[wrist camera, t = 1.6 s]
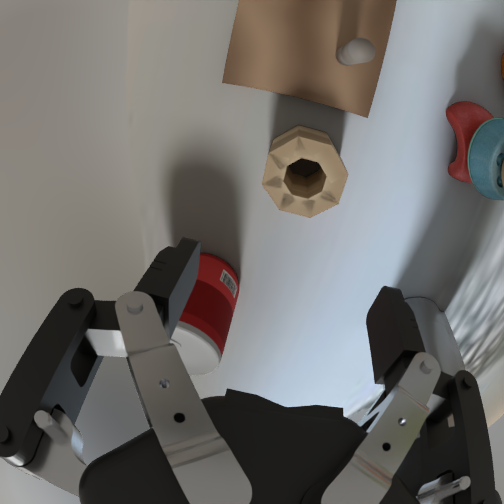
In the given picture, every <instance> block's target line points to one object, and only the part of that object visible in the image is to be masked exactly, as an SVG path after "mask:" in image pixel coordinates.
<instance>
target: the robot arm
mask: <svg viewBox="0 0 504 504" xmlns="http://www.w3.org/2000/svg"><path fill="white" fill-rule="evenodd" d="M200 248H201V242H200V241H196V240H192V239H188V238H182V240H181V241H180V243H179V244H178V246H177V247H176V248H174V247H170V246H168V247H166V248H165V249H163V250H162V251H160V252H159V253H158V255H157V256H156V258H155V259H154V261H153V262H152V263H151V265H150V267H149V268H148V269H147V271H146V272H145V274H144V275H143V277H142V278H141V280H140V282H139V283H138V285H137V286H136V288H135V289H134V291H132V292H128V293H125V294H123V295H122V296H120V297H119V298H118V299H117V301H99V300H94V297H93V295H92V293H91V292H89V291H88V290H86V289H83V288H74V289H71V290H68V291H66V292H65V293H64V294H63V295H62V296H61V297H60V298H59V300H58V301H57V303H56V304H55V306H54V307H53V309H52V310H51V311H50V313H49V314H48V316H47V317H46V319H45V320H44V322H43V323H42V325H41V326H40V328H39V330H38V331H37V333H36V334H35V336H34V337H33V339H32V341H31V342H30V344H29V345H28V347H27V349H26V351H25V352H24V354H23V355H22V357H21V359H20V361H19V362H18V364H17V366H16V368H15V369H14V371H13V373H12V374H11V376H10V378H9V380H8V382H7V384H6V386H5V388H4V389H3V391H2V393H1V395H0V457H1V458H3V459H4V460H5V461H7V462H8V463H9V464H11V465H12V466H14V467H16V468H18V469H19V470H21V471H23V472H25V473H26V474H29V475H32V476H34V477H36V478H38V479H41V480H46V481H48V482H50V483H52V484H54V485H56V486H58V487H60V488H61V489H64V490H66V491H68V492H70V493H72V494H74V495H76V496H78V497H79V498H80V502H81V504H502V501H501V498H500V495H499V493H498V492H497V491H496V490H495V481H494V470H493V461H492V454H491V446H490V440H489V434H488V429H487V423H486V418H485V413H484V409H483V404H482V400H481V396H480V392H479V388H478V384H477V381H476V379H475V378H474V376H473V375H472V374H471V373H470V372H468V371H466V370H465V365H464V362H463V359H462V356H461V354H460V351H459V348H458V345H457V342H456V340H455V337H454V334H453V332H452V329H451V327H450V324H449V322H448V319H447V317H446V314H445V312H441V311H440V310H439V309H438V307H437V305H436V304H435V303H434V302H433V301H431V300H429V299H426V298H409V299H405V300H404V298H403V295H402V292H401V290H400V289H396V288H392V287H388V286H383V287H382V289H381V290H380V292H379V294H378V296H377V297H376V299H375V301H374V302H373V304H372V306H371V308H370V309H369V311H368V314H367V318H366V325H367V331H368V337H369V344H370V350H371V357H372V365H373V372H374V380H375V384H383V389H384V390H383V391H382V392H381V394H380V395H379V396H378V398H377V399H376V401H375V402H374V403H373V405H372V406H371V408H370V409H369V410H368V412H367V413H366V414H365V416H364V417H363V418H362V419H361V421H360V422H359V423H358V424H357V423H355V422H354V421H352V420H350V419H348V418H346V417H343V408H338V407H329V406H321V405H311V406H300V407H284V406H282V405H279V404H277V403H274V402H272V401H270V400H267V399H265V398H263V397H260V396H258V395H255V394H250V393H245V392H241V391H236V390H232V389H227V391H226V394H225V396H214V397H208V398H203V399H200V397H199V395H198V393H197V391H196V389H195V387H194V385H193V383H192V381H191V378H190V376H189V374H188V372H187V370H186V368H185V365H184V363H183V361H182V359H181V357H180V354H179V352H178V350H177V348H176V346H175V345H174V344H173V343H172V344H171V343H170V342H169V341H170V340H171V337H172V335H173V333H174V330H175V328H176V326H177V323H178V321H179V319H180V316H181V314H182V312H183V310H184V307H185V305H186V303H187V301H188V298H189V296H190V294H191V292H192V289H193V287H194V285H195V282H196V279H197V275H198V269H199V258H200ZM104 356H117V357H126V359H127V362H128V365H129V369H130V372H131V375H132V378H133V381H134V384H135V387H136V391H137V393H138V396H139V400H140V402H141V405H142V408H143V411H144V414H145V417H146V419H147V422H148V425H149V427H150V429H149V430H147V431H145V432H144V433H142V434H140V435H138V436H137V437H135V438H133V439H131V440H130V441H128V442H126V443H124V444H123V445H121V446H119V447H117V448H115V449H114V450H112V451H110V452H108V453H106V454H104V455H102V456H101V457H99V458H97V459H95V460H94V461H92V462H91V463H90V464H89V465H88V466H87V465H86V464H85V462H84V460H83V457H82V447H83V438H82V435H81V433H80V431H79V430H78V429H77V427H76V426H75V425H74V424H75V422H76V419H77V417H78V414H79V412H80V410H81V407H82V404H83V402H84V400H85V398H86V395H87V393H88V391H89V388H90V386H91V384H92V381H93V379H94V377H95V375H96V372H97V370H98V368H99V366H100V364H101V362H102V359H103V357H104Z"/></svg>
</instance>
